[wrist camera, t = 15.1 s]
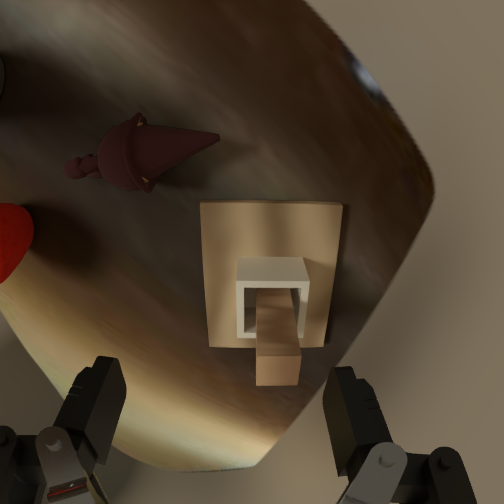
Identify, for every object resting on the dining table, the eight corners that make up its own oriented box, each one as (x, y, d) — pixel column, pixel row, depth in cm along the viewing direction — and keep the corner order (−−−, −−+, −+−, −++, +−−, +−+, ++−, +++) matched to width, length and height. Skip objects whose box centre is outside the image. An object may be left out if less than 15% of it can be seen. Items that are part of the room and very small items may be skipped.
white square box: (239, 309, 36) (237, 337, 32) (238, 256, 33) (235, 280, 29) (297, 309, 36) (303, 338, 31) (302, 257, 33) (309, 281, 29)
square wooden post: (255, 302, 35) (256, 385, 24) (256, 275, 33) (257, 356, 22) (285, 302, 35) (297, 384, 24) (287, 276, 33) (301, 355, 22)
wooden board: (210, 341, 39) (209, 346, 38) (201, 200, 32) (199, 202, 31) (321, 341, 39) (322, 346, 38) (340, 202, 32) (342, 205, 31)
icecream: (204, 84, 22) (52, 131, 24) (215, 179, 23) (58, 210, 25) (223, 106, 28) (92, 139, 31) (232, 181, 30) (98, 205, 32)
